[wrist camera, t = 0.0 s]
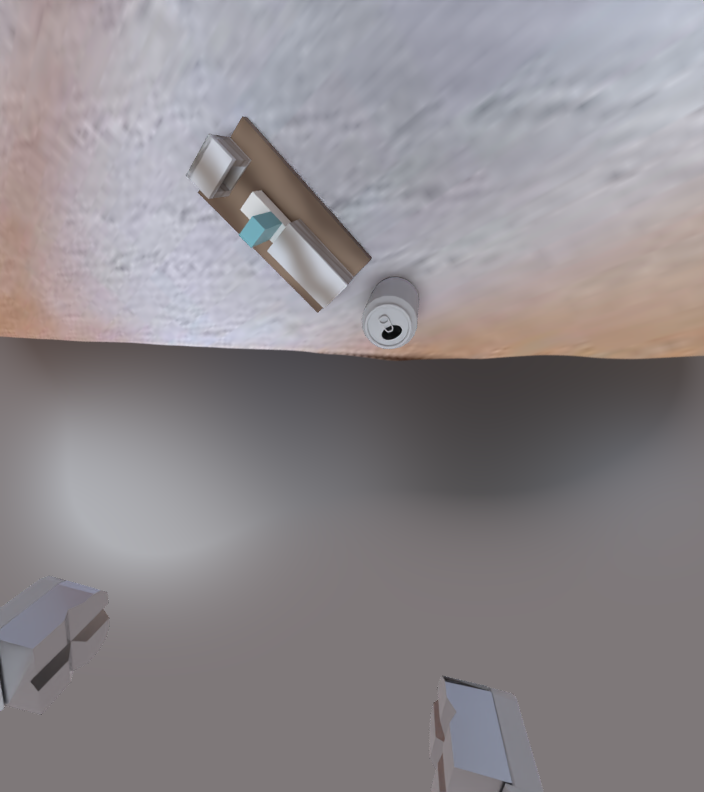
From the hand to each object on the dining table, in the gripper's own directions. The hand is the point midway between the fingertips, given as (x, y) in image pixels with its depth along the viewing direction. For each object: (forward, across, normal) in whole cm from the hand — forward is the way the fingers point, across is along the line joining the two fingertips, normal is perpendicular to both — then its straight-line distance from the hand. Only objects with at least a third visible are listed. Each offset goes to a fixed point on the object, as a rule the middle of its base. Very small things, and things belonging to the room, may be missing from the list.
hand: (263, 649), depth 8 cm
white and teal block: (+47, +15, -15) cm, 52 cm away
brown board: (+49, +18, -18) cm, 55 cm away
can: (+52, 0, -9) cm, 53 cm away
